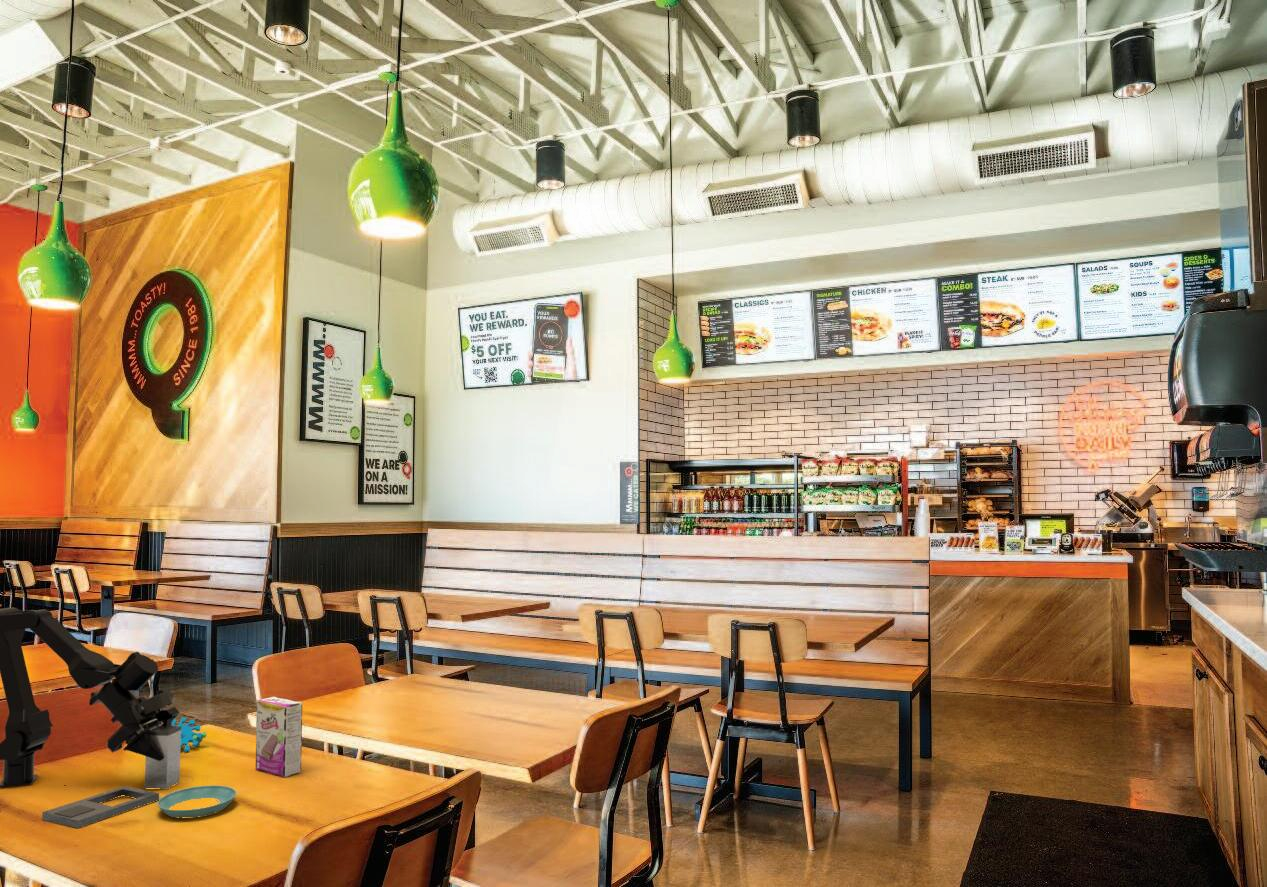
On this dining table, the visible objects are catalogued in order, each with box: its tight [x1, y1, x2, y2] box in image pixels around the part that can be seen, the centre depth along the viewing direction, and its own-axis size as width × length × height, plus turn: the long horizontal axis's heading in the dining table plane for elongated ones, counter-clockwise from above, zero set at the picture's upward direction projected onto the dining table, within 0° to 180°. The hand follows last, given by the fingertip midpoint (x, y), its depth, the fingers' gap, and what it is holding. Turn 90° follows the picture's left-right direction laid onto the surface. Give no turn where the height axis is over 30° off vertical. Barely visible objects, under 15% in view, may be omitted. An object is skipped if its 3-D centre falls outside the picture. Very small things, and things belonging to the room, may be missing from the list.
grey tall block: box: [144, 725, 182, 790], centre depth 198 cm, size 5×5×12 cm
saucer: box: [156, 785, 238, 819], centre depth 183 cm, size 15×15×3 cm
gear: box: [171, 716, 208, 753], centre depth 227 cm, size 11×6×10 cm
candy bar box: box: [255, 696, 303, 778], centre depth 208 cm, size 11×5×16 cm, turn 58°
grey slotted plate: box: [41, 785, 160, 829], centre depth 182 cm, size 11×18×2 cm, turn 155°
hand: (169, 755), depth 198 cm, fingers closed on grey tall block, 5 cm apart
